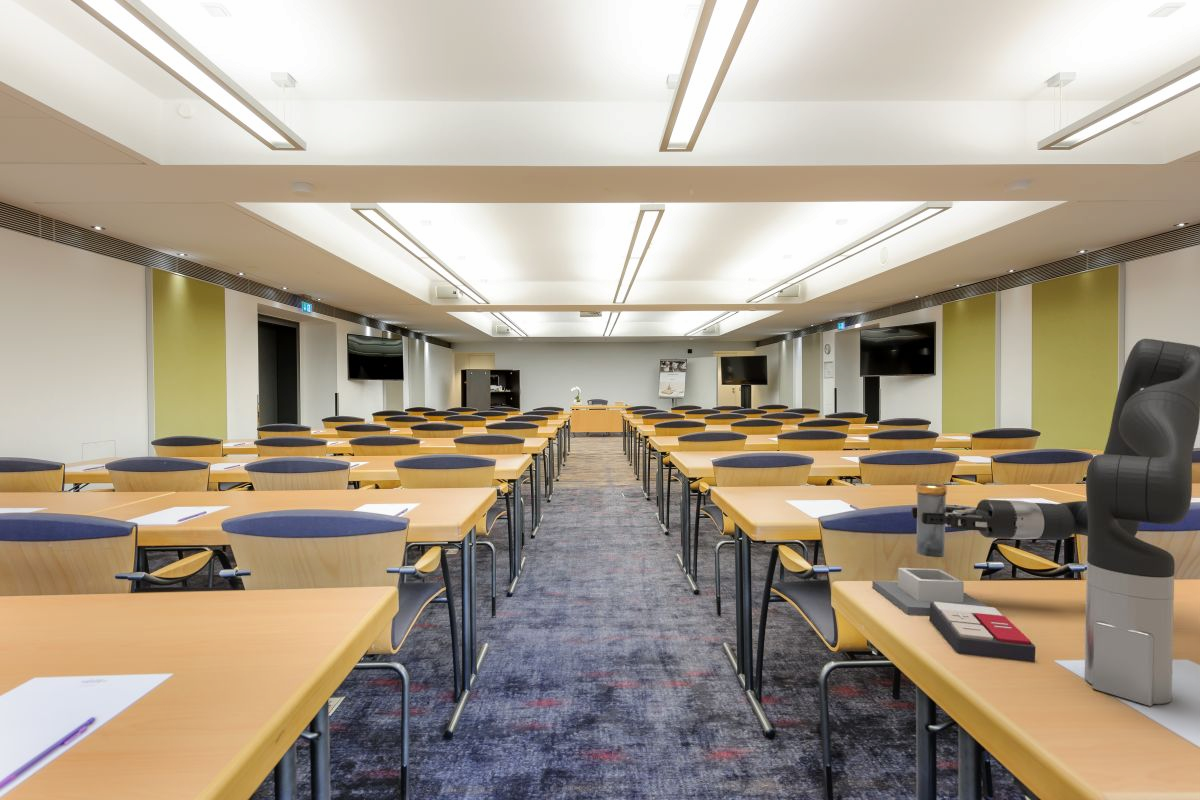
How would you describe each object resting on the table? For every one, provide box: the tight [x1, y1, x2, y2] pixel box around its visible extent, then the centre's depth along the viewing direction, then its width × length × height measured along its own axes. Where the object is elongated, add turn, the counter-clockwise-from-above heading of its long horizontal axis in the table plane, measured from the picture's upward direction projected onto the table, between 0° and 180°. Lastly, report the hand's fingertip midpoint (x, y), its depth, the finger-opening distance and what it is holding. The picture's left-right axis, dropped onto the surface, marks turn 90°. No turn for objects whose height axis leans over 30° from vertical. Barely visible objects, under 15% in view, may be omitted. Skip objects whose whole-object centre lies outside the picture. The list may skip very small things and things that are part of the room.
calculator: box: [929, 602, 1036, 663], centre depth 99 cm, size 11×4×15 cm
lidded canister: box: [915, 482, 948, 558], centre depth 118 cm, size 5×5×14 cm
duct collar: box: [871, 567, 989, 617], centre depth 117 cm, size 16×16×6 cm
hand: (917, 515), depth 118 cm, fingers closed on lidded canister, 5 cm apart
